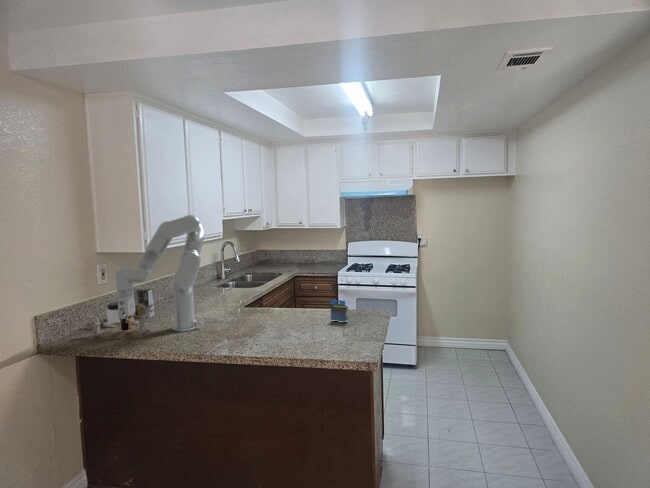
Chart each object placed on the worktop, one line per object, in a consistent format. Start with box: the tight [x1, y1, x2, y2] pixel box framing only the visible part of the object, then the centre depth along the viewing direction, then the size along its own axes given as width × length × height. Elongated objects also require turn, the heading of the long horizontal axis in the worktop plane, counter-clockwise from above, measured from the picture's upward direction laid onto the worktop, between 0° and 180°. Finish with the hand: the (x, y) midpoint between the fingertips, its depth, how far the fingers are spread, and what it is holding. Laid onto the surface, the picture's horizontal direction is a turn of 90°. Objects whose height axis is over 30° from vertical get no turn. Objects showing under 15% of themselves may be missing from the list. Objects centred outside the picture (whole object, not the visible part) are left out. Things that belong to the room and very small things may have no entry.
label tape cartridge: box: [330, 299, 349, 321], centre depth 229 cm, size 9×4×12 cm, turn 65°
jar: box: [106, 301, 126, 328], centre depth 231 cm, size 9×8×12 cm
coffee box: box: [133, 288, 156, 319], centre depth 248 cm, size 9×6×16 cm
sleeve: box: [119, 317, 136, 330], centre depth 211 cm, size 5×5×5 cm
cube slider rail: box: [86, 318, 151, 341], centre depth 211 cm, size 28×10×8 cm, turn 94°
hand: (127, 328), depth 211 cm, fingers closed on sleeve, 5 cm apart
